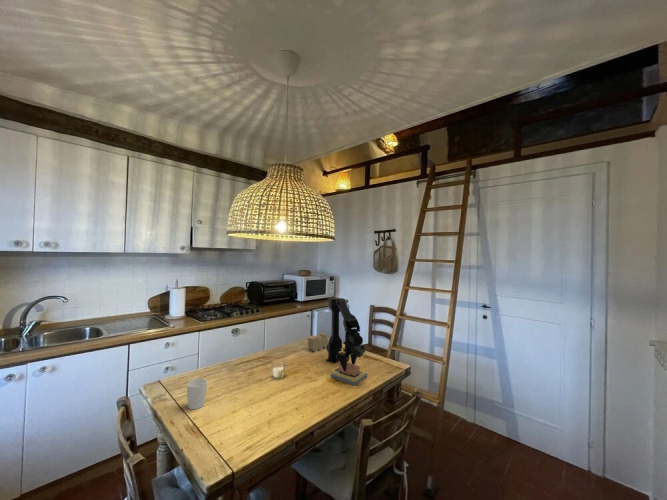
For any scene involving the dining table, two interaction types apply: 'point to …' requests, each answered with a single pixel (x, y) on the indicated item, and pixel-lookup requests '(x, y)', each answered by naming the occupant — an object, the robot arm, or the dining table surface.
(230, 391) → the dining table surface
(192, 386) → the white cup
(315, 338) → the toy train
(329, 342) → the robot arm
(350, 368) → the pink panel on base
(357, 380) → the dock
